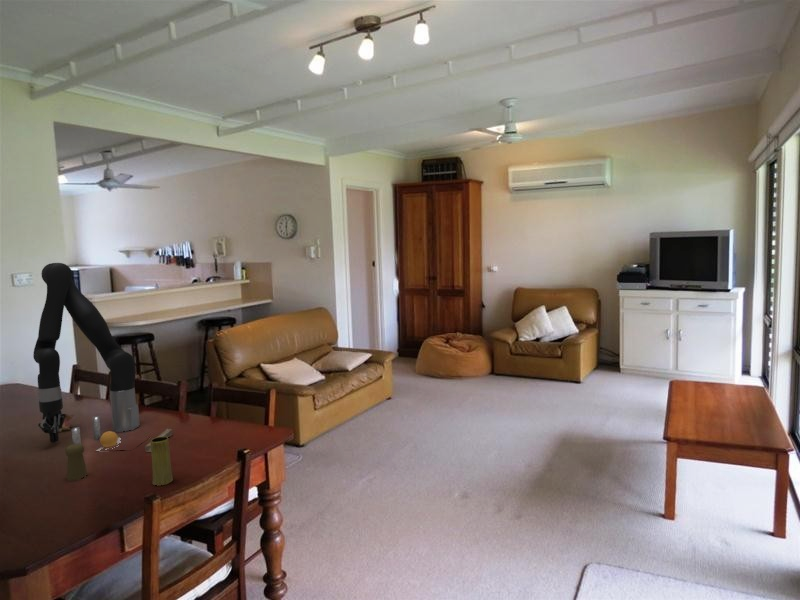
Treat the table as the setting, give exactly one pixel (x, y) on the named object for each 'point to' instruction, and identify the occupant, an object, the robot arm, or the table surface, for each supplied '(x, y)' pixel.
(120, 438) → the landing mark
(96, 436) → the right post
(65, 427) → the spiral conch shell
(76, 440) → the left post
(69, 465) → the olive green pepper mill
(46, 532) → the table surface
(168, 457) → the vase
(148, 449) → the stopper wall
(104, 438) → the ball
